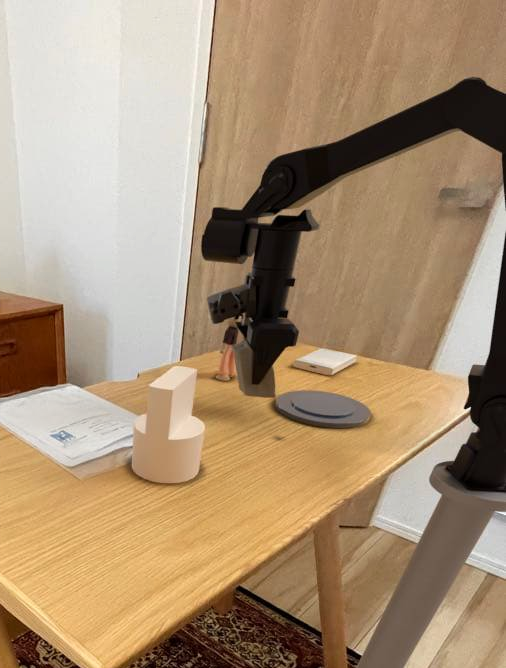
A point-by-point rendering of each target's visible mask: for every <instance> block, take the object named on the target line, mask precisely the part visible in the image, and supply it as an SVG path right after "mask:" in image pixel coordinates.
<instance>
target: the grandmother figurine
mask: <svg viewBox="0 0 506 668" xmlns="http://www.w3.org/2000/svg"><path fill="white" fill-rule="evenodd" d="M226 320H227V322H226V323H227V325H228V326H227V328H226V330H225V331H224V335H223V340H222V342H221V346H220V350H219V354H221V357H220V362H219V366H218V370H217V373H218V374H217V375H216V376H215V379H217V380H219V381H222V382H223V381H224V382H228V381H230V380H231V378H232V377H234V375H235V374H236V375H237V371H236V365H235V359H234V355H233V351H232V348H231V346H232V345H234V344H237V341H238V335H239V329H238V328H237V326H236V325H235V322H240V320H241V316H239V318H238V319H234V318H233V317H232V318H229V319H226Z"/></svg>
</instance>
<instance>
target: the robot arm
mask: <svg viewBox="0 0 506 668" xmlns="http://www.w3.org/2000/svg"><path fill="white" fill-rule="evenodd" d="M456 132H462V133H464V134H466V135H468V136H469V137H472V138H473V139H475V140H477V141H479V142H480V143H482V144H484V145H486V146H488V147H489V148H492V149H493V150H495V151H497V152H499V153H500V154H501V169H502V184H503V195H504V196H503V198H504V207H505V210H506V93H504V92H503V91H500V90H498V89H496V88H494V87H492V86H490V85H489V84H488V83H487V82H486V80H485V79H483V78H481V77H478V76H470V77H467V78H464V79H461V80H460V81H459V82H456V84H454V85H453V86H451V87H450V88H448V89H446V90H445V91H443V92H440V93H438V94H435V95H434V96H432V97H429V98H428V99H425V100H423V101H421V102H419V103H416V104H414V105H412V106H410V107H408V108H406V109H403V110H402V111H400V112H399V111H398V112H397V113H395V114H393V115H391V116H388V117H386V118H384V119H382V120H380V121H378V122H376V123H373V124H372V125H370V126H367V127H365V128H363V129H361V130H359V131H357V132H354V133H352V134H351V135H348V136H346V137H344V138H342V139H339V140H336V141H334V142H330V143H326V144H321V145H316V146H311V147H307V148H301V149H299V150H295V151H292V152H291V151H290V152H287V153H284V154H281V155H278V156H276V157H275V158H273V159H272V160H270V162H268V164H267V165H266V167H265V169H264V172H262V173H263V174H262V176H261V178H260V184H259V186H258V187H257V189H256V190H255V191H254V192H253V194H252V195H251V196H250V198H249V199H248V201H246V202H245V204H244V205H243V207H242V208H241V209H236V208H235V209H234V208H230V207H227V206H214V207H212V210H211V217H210V218H209V220H208V221H207V223H206V225H205V228H204V231H203V234H202V235H201V241H200V251H201V256H202V258H203V261H206V262H214V263H222V264H223V263H225V264H233V265H243V264H244V263H245V262H246V261H247V259H249V258H251V257H253V259H252V263H251V264H252V265H251V271H249V272H248V273H247V274H246V275H245V277H244V283H243V284H241V285H237V286H234V287H231V288H228V289H225V290H222V291H219V292H217V293H214V294H211V295H209V296H207V297H206V301H207V307H208V312H209V316H210V320H211V322H212V324H213V325H218V324H221V323H224V322H225V321H226V320H227V319H229V318H232V317H233V318H234V319H238V318H239V316H241V320H240V322H235V325H236V326H237V328H238V331H239V332H240V333H241V334H242V338H243V339H242V340H243V341H244V340H245V341H246V342H247V344H248V345H249V346H250V348H251V349H252V384H253V385H259V384H260V382H261V381H262V379H263V378H264V377H265V375H266V374H267V372H268V371H269V369H270V368H271V367H272V365H273V366H274V364H275V363H276V362H277V360H278V359H279V357H280V356H281V355H282V353H283V352H284V351H285V350H286V349H287V348H290V347H291V348H292V347H295V346H297V342H298V338H299V333H300V331H299V329H298V327H297V326H296V325H295V324H294V323H293V321H291V320H290V318H288V315H289V312H290V311H289V309H288V308H286V307H287V302H288V297H289V294H290V289H291V287H293V288H294V287H295V284H296V277H294V276H293V275H294V269H295V264H296V261H297V260H296V259H297V254H298V251H299V246H300V242H301V236H302V232H303V233H304V232H306V233H309V232H314V231H319V229H320V224H319V223H318V222H317V220H316V219H315V217H314V215H313V214H312V210H311V208H307V209H303V210H302V211H301V212H300V213H299V214H298V215H291V214H289V215H288V214H279V213H280V212H283V211H284V210H294V209H298V208H301V207H304V206H305V205H306V204H308V203H310V202H311V201H313V200H314V199H316V198H317V197H319V196H321V195H323V194H324V193H326V192H327V191H328V190H330V189H331V188H332V187H334V186H335V185H337V184H338V183H340V182H342V181H343V180H344V179H346V178H348V177H350V176H352V175H355V174H357V173H359V172H362V171H364V170H366V169H370V168H371V167H373V166H376V165H379V164H380V163H381V164H382V163H384V162H386V161H388V160H390V159H393V158H395V157H397V156H400V155H403V154H405V153H407V152H410V151H412V150H415V149H418V148H419V147H421V146H423V145H426V144H429V143H432V142H434V141H436V140H439V139H441V138H444V137H445V136H448V135H450V134H452V133H456ZM274 216H275V217H274ZM268 217H274V219H273V220H272V222H271V223H269V222H259V219H261V218H268ZM504 233H505V234H504V241H503V247H502V256H501V263H500V264H501V265H500V270H499V277H498V285H497V292H496V300H495V308H494V314H493V322H492V323H493V324H492V328H491V336H490V345H489V352H488V356H487V358H486V361H485V364H472V365H471V368H470V370H469V372H468V376H467V387H468V394H467V397H466V400H465V402H464V405H463V410H468V409H469V418H470V420H471V422H472V423H473V424H474V425H475V426H476V427H477V428H478V429H479V430H478V431H475V432H473V431H472V432H470V434H469V436H468V438H467V440H466V442H465V443H463V444H462V445H461V446H460V448H459V450H458V452H457V453H456V456H455V458H454V460H453V461H454V462H453V464H452V465H447V466H446V468H445V469H446V470H447V471H448V472H449V473H450V474H451V475H452V476H453V477H455V478H456V479H457V480H458V481H459V482H460V483H461V484H462V485H463V486H464V487H465V488H466V489H467V490H470V491H485V492H506V231H505V232H504Z"/></svg>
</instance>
